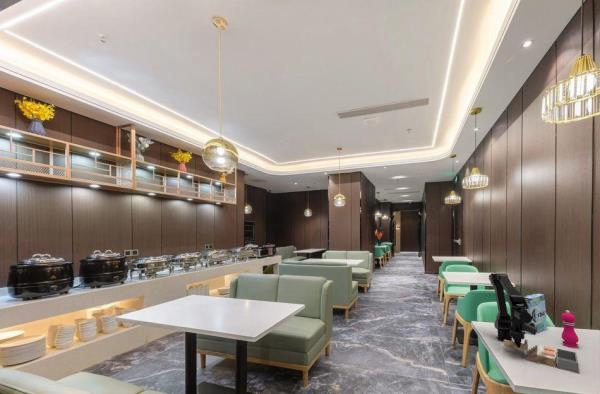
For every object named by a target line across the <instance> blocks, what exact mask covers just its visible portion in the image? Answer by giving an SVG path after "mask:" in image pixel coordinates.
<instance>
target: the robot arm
mask: <svg viewBox="0 0 600 394" xmlns="http://www.w3.org/2000/svg"><path fill="white" fill-rule="evenodd" d="M488 280H489V281H490V282H489V283H490V284H491V286H492V287H493V288H494V293H495V299H496V304H497V305H496V306H497V314H496V316H495V321H494V323H493V326H494V328H495V329H496V330H497V341H502V342H504V339H505V340H509V341H514V342H515V343H516V345H517V347H518V348H520V345H521V343H522V340H525V337H526V336H525V335H526V333H525V331H527V332H529V333H531V334H533V335H532V336H536V334H537V330H538V328H537V327H535V324H534V323H532V322H531V321H532V316H531V315H530V314H529V313H528V312H527V310H526V309H528V304H527V302H526V300H525V298H524V297H523V296H524V295H523V294H522V293H521V292H520V291H518V290H516V288H515V287H514V284H513V283H512V282H511V281H510V278H509V276H508V274H507V273H500V272H499V273H493V272H492V273H490V274H488ZM505 294H506V295H505ZM507 304H508V306H509V312H508V306H507ZM509 313H510V314H509ZM530 322H531V323H530Z"/></svg>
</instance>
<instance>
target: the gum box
mask: <svg viewBox="0 0 600 394" xmlns="http://www.w3.org/2000/svg"><path fill="white" fill-rule="evenodd" d="M523 297H524V298H525V300H526V302H527V304H528V309H526V310H527V312H528V313H529V314H530V315H531V316H532V321H531V322H532V323H534V324H535V327H537V328H538V330H537V333H541V332H544V331H547V330H548V324H547V314H546V313H547V311H546V298H545V297H546V296H545V294H542V293H538V292H536V293H532V294H529V295H525V296H524V295H523ZM531 322H530V323H531ZM537 333H536V334H537ZM525 334H527V335H530V336H531V335H532V336H534V335H533V334H531V333H529V332H527V331H525Z"/></svg>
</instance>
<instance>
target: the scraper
mask: <svg viewBox="0 0 600 394" xmlns="http://www.w3.org/2000/svg"><path fill="white" fill-rule="evenodd" d="M503 347H505V348H510V349H513V350H514V349H515V350H518V351H523V354H524V355H526V356H528V350H529V349H528V339H525V338H524V343H522V342H521V345H520V348H518V347H517V345H516V343H515V342H514V340H512V341H509V340H505V339H504V341H503Z"/></svg>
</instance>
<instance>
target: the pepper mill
mask: <svg viewBox="0 0 600 394" xmlns="http://www.w3.org/2000/svg"><path fill="white" fill-rule="evenodd" d="M560 317H561V319H562V324H563V331H562V333H561V339H562V344H563V346H565V347H568V348H571V349H579V344H578V342H579V337H578V335H577V333H576V330H575V324H576V323H575V321H576V317H575V315H574V314H572V313H571V312H570V310H567V309H566V310H565V312H562V313H561V315H560Z"/></svg>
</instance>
